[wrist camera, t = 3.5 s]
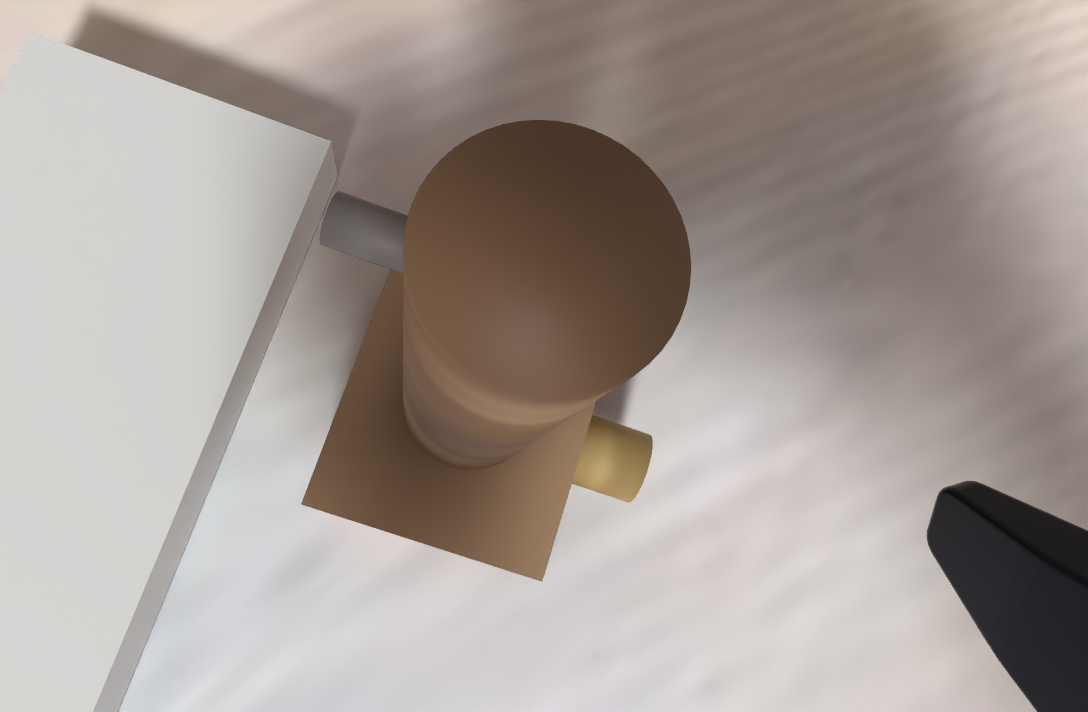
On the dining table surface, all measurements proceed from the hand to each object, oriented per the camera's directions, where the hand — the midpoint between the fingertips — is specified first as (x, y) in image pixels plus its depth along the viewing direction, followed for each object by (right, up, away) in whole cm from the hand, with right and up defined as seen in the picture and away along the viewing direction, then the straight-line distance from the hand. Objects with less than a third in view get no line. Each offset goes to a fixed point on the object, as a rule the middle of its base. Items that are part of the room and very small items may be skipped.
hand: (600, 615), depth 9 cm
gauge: (-3, +1, +11) cm, 11 cm away
